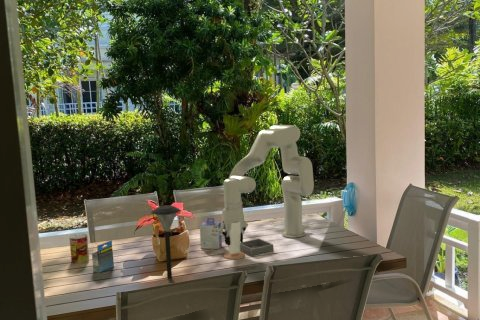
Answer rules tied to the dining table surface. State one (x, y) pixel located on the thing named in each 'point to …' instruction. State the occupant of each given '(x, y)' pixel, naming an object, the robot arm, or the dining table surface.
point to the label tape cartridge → (103, 257)
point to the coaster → (234, 255)
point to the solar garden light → (166, 229)
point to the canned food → (79, 248)
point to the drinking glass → (235, 238)
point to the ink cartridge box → (210, 235)
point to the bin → (264, 248)
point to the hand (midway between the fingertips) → (234, 242)
